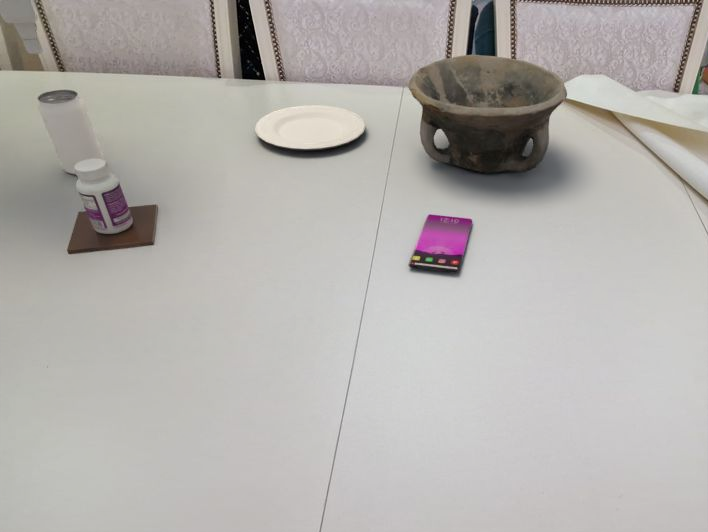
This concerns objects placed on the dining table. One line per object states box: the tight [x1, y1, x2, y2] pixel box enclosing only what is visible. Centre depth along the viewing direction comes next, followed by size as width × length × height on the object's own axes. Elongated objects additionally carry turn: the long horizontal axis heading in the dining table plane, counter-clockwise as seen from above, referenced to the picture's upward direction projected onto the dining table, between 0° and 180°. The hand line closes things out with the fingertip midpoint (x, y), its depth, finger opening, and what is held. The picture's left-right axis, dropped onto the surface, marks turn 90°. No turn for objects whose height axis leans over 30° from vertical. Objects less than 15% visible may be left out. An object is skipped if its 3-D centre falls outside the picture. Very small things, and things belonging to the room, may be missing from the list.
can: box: [37, 89, 106, 176], centre depth 101 cm, size 6×6×12 cm
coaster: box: [66, 203, 158, 255], centre depth 91 cm, size 11×11×1 cm
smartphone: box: [407, 213, 473, 274], centre depth 92 cm, size 7×15×1 cm, turn 172°
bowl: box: [407, 54, 568, 174], centre depth 109 cm, size 27×26×15 cm
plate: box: [254, 104, 366, 152], centre depth 119 cm, size 21×21×2 cm
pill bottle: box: [74, 158, 133, 234], centre depth 87 cm, size 5×5×10 cm
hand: (33, 41), depth 82 cm, fingers open, 8 cm apart
